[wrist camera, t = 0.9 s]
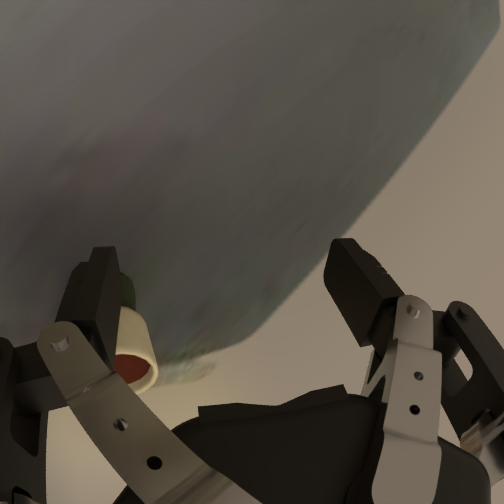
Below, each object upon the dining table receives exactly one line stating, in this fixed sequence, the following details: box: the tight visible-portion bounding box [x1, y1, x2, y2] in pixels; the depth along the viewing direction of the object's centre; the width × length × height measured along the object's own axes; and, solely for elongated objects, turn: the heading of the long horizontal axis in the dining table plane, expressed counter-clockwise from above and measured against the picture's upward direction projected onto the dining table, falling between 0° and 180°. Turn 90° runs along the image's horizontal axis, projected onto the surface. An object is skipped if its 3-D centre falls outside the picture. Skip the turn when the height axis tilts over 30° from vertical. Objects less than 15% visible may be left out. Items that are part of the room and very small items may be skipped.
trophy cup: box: [114, 274, 158, 395], centre depth 30 cm, size 11×7×13 cm, turn 4°
